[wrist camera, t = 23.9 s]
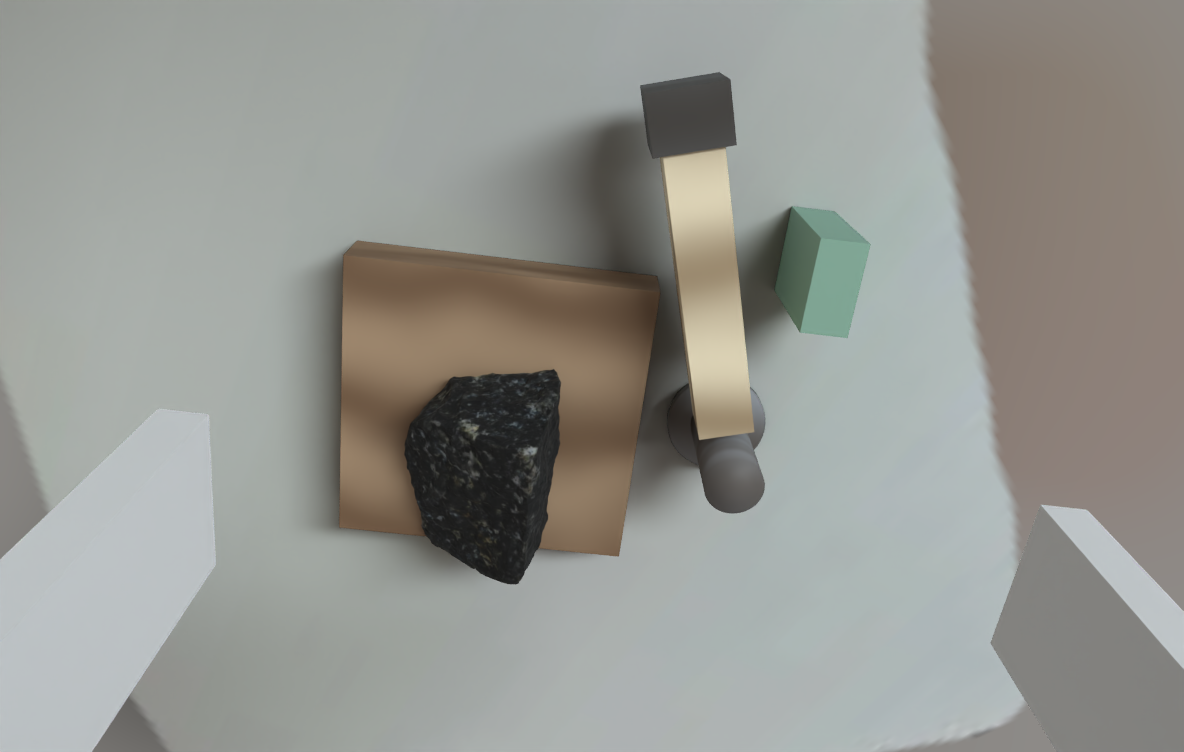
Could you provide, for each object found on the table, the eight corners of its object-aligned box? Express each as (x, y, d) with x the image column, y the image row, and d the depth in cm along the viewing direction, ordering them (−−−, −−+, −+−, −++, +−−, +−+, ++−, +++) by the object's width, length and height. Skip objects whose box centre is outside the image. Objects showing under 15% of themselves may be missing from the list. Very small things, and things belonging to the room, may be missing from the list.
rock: (415, 547, 46) (391, 621, 40) (408, 357, 42) (380, 411, 36) (556, 552, 46) (550, 627, 40) (562, 364, 42) (557, 419, 36)
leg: (752, 402, 42) (764, 432, 39) (683, 411, 42) (690, 443, 39) (719, 72, 36) (730, 79, 33) (640, 85, 37) (644, 93, 34)
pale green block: (791, 206, 41) (821, 238, 36) (834, 211, 41) (870, 244, 36) (774, 289, 43) (800, 332, 38) (816, 294, 43) (847, 338, 38)
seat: (357, 240, 42) (315, 284, 36) (791, 291, 43) (824, 343, 37) (351, 501, 47) (314, 579, 41) (736, 542, 48) (758, 623, 42)
